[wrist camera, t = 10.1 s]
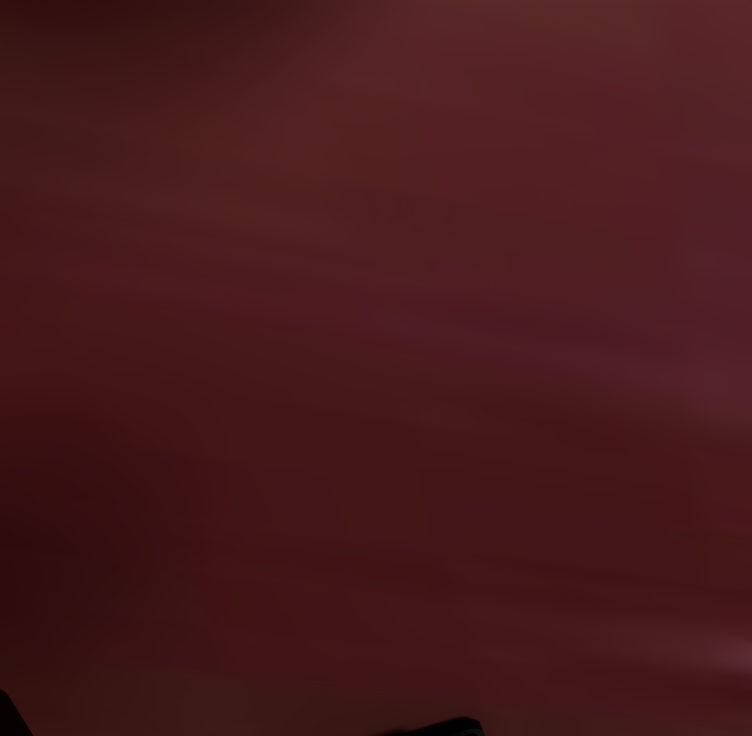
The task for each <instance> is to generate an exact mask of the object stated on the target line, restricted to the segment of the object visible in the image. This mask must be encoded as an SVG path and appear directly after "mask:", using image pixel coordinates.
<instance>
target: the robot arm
mask: <svg viewBox="0 0 752 736" xmlns="http://www.w3.org/2000/svg"><path fill="white" fill-rule="evenodd" d="M0 736H33V734H32V733H31V731H30V729H29V728H28V726H27V724H26V723H25V721H24V720H23V718H22V716H21V715H20V713H19V712H18V710H17V708H16V707H15V705H14V703H13V702H12V700H11V699H10V697H9V696H8V695H7V693H6V692H4V691H3V690H1V689H0ZM410 736H485V735H484V732H483V729H482V726H481V724H480V722H479V721H477V720H475V719H466V720H462V721H459V722H455V723H452V724H448V725H445V726H441V727H438V728H434V729H431V730H427V731H424V732H420V733H417V734H413V735H410Z"/></svg>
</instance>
